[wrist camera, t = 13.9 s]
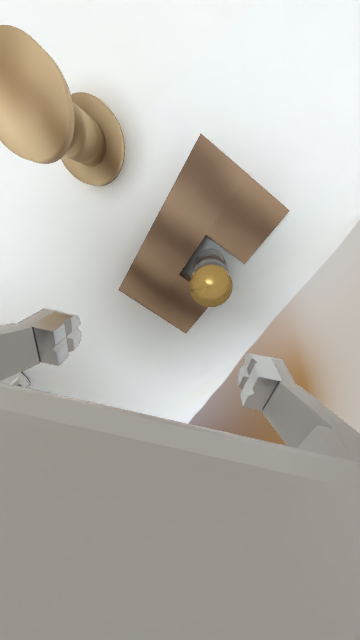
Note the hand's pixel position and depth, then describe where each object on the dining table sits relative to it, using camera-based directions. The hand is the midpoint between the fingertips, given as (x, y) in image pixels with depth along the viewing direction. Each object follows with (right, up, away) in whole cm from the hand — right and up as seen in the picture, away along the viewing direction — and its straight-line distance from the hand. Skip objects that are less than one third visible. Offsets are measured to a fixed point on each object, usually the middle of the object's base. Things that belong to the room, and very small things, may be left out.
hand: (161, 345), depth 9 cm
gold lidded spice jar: (+5, +9, +18) cm, 21 cm away
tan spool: (-10, +22, +14) cm, 28 cm away
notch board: (+3, +11, +18) cm, 21 cm away
